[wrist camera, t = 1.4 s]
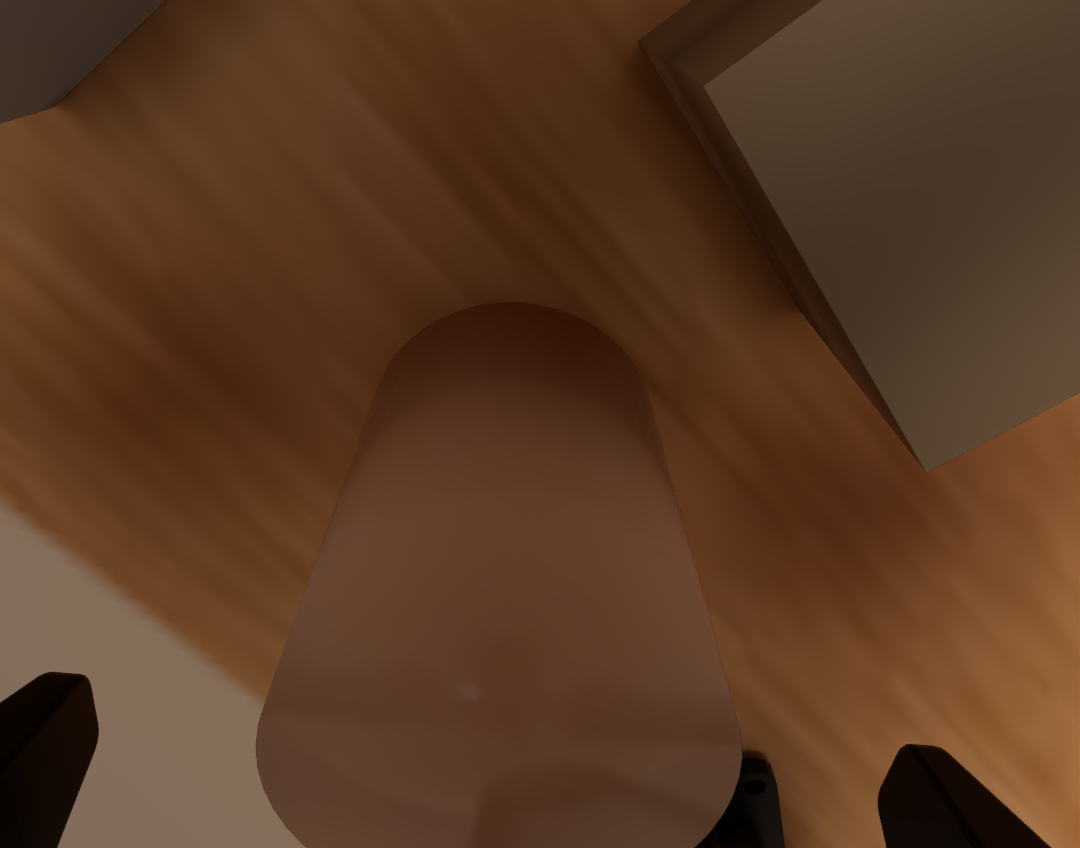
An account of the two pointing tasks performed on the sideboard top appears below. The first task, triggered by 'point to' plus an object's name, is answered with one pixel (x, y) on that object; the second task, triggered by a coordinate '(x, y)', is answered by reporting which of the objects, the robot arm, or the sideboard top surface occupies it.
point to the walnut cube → (905, 190)
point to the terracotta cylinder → (503, 614)
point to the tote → (58, 47)
